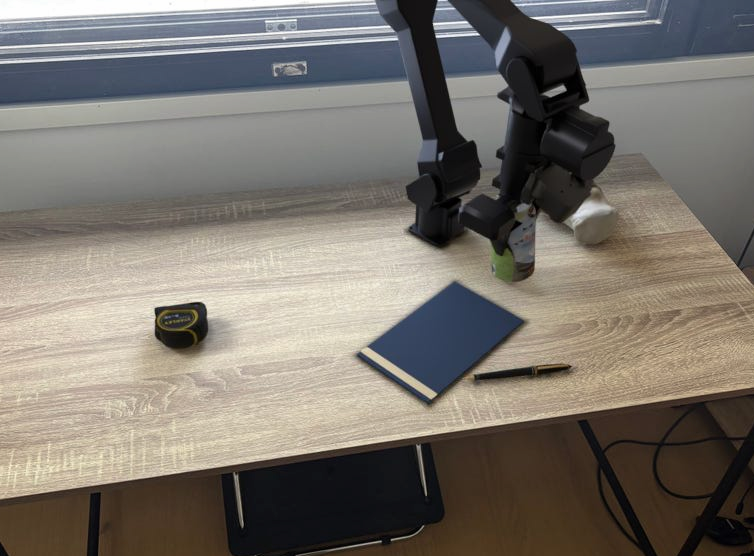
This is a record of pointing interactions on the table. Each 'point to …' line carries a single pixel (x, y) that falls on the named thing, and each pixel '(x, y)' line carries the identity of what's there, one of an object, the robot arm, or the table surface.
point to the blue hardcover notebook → (440, 341)
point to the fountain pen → (521, 372)
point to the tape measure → (181, 324)
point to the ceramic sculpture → (593, 218)
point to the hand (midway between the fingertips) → (510, 246)
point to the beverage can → (517, 249)
